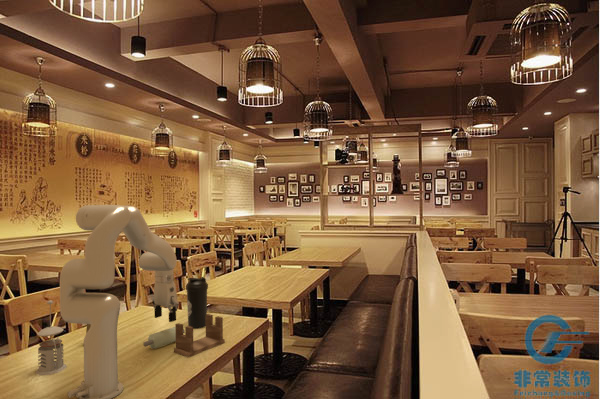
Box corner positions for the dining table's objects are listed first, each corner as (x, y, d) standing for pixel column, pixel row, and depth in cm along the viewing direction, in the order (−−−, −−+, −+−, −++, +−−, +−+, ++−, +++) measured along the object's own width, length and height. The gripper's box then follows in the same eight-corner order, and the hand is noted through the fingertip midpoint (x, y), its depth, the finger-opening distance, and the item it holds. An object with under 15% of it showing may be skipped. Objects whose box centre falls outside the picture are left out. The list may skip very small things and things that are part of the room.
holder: (188, 357, 158) (188, 328, 158) (173, 352, 164) (173, 324, 164) (224, 342, 174) (224, 316, 174) (210, 338, 179) (209, 313, 179)
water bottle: (184, 324, 199) (184, 277, 199) (205, 321, 204) (205, 275, 203) (188, 330, 190) (187, 280, 190) (210, 327, 194) (209, 278, 194)
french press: (60, 361, 156) (59, 295, 155) (73, 369, 148) (72, 300, 148) (30, 370, 148) (29, 301, 148) (43, 379, 141) (41, 306, 140)
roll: (149, 353, 163) (149, 338, 163) (140, 350, 167) (140, 335, 167) (187, 339, 179) (187, 325, 178) (179, 336, 182) (179, 323, 182)
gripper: (184, 279, 170) (185, 320, 171) (159, 274, 181) (160, 313, 181) (169, 283, 164) (170, 325, 165) (144, 277, 175) (145, 317, 175)
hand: (165, 319), depth 173 cm, fingers open, 9 cm apart
